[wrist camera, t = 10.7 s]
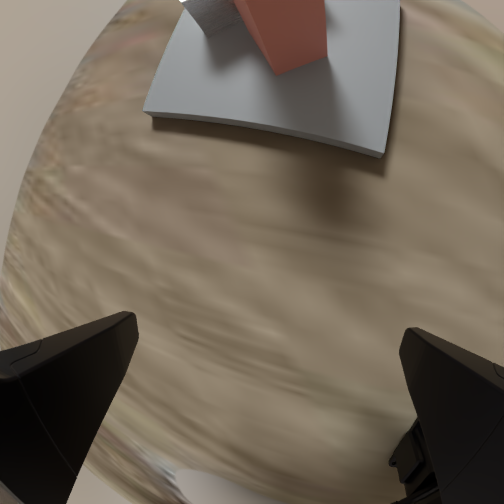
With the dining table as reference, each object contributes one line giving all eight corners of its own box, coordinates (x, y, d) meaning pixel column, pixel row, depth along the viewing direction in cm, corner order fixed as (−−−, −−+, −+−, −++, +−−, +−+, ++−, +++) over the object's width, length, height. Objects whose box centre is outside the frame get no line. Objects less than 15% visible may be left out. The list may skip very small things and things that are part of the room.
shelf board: (397, 2, 16) (399, -8, 14) (380, 158, 18) (384, 153, 16) (208, -17, 19) (203, -25, 18) (151, 116, 22) (142, 111, 20)
